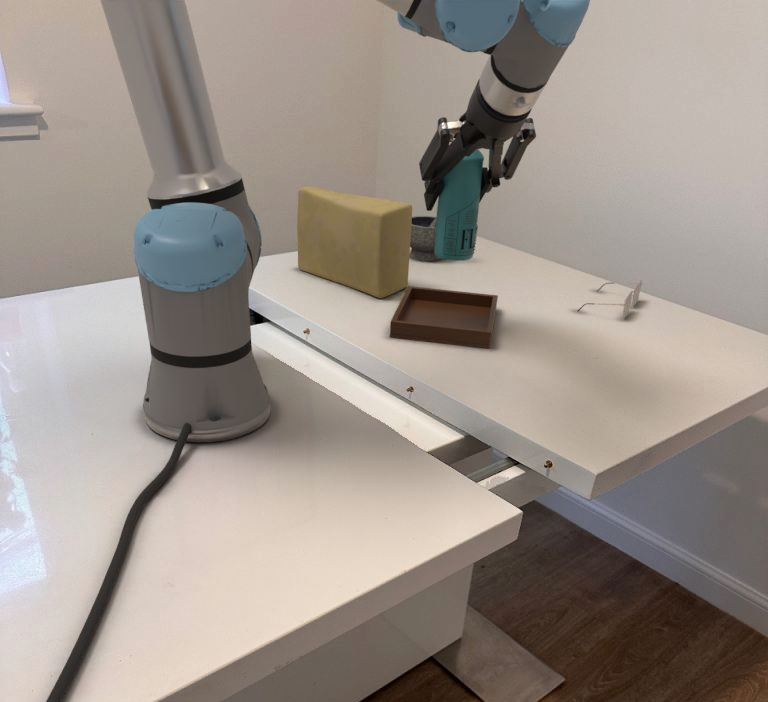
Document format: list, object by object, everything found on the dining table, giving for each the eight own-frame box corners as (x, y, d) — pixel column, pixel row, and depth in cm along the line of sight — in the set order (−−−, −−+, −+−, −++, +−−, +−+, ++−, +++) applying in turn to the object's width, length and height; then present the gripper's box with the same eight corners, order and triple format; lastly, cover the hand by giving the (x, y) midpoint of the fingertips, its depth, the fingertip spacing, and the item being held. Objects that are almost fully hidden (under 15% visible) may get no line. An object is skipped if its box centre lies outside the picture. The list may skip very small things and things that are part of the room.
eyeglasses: (622, 321, 122) (625, 298, 120) (575, 315, 126) (578, 292, 124) (639, 299, 133) (643, 277, 130) (596, 294, 136) (599, 272, 134)
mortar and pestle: (393, 257, 147) (396, 195, 140) (414, 247, 154) (418, 187, 147) (443, 267, 143) (448, 203, 136) (462, 256, 150) (468, 195, 143)
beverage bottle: (459, 273, 109) (474, 125, 97) (423, 264, 112) (434, 119, 101) (481, 264, 113) (498, 121, 102) (446, 255, 116) (458, 116, 105)
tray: (489, 348, 110) (491, 332, 109) (389, 337, 112) (390, 321, 111) (495, 310, 125) (498, 295, 123) (407, 300, 127) (408, 285, 125)
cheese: (283, 274, 135) (280, 189, 126) (315, 262, 142) (314, 181, 133) (380, 301, 126) (384, 210, 117) (409, 287, 132) (415, 200, 124)
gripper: (436, 118, 86) (393, 226, 108) (583, 120, 90) (512, 223, 112) (426, 63, 87) (385, 180, 109) (571, 67, 91) (503, 179, 113)
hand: (449, 202), depth 111 cm, fingers closed on beverage bottle, 6 cm apart
